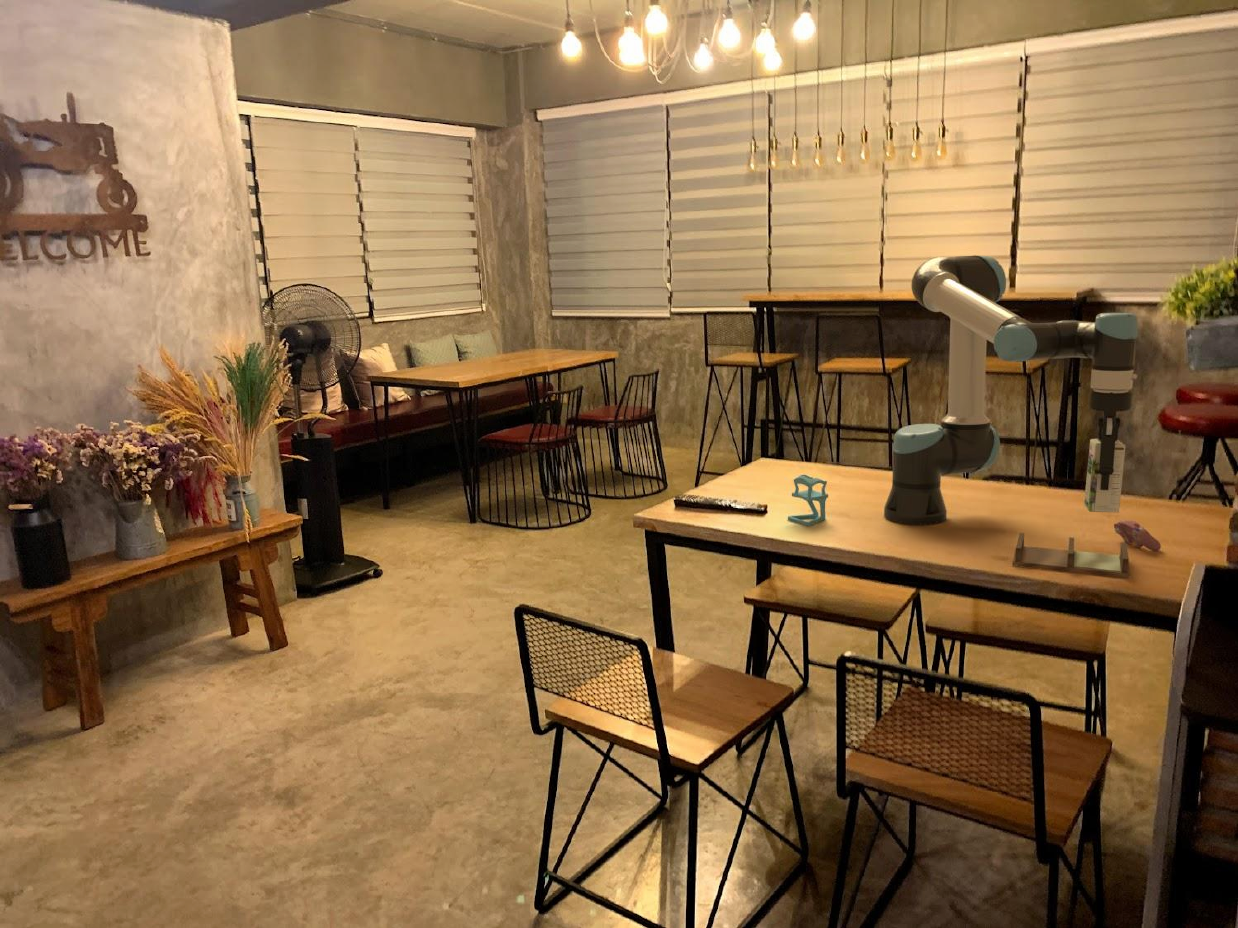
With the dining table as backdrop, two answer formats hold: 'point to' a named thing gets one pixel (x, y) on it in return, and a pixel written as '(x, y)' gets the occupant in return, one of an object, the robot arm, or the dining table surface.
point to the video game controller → (1136, 535)
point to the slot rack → (1072, 560)
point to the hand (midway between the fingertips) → (1102, 500)
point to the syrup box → (1092, 477)
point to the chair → (810, 499)
